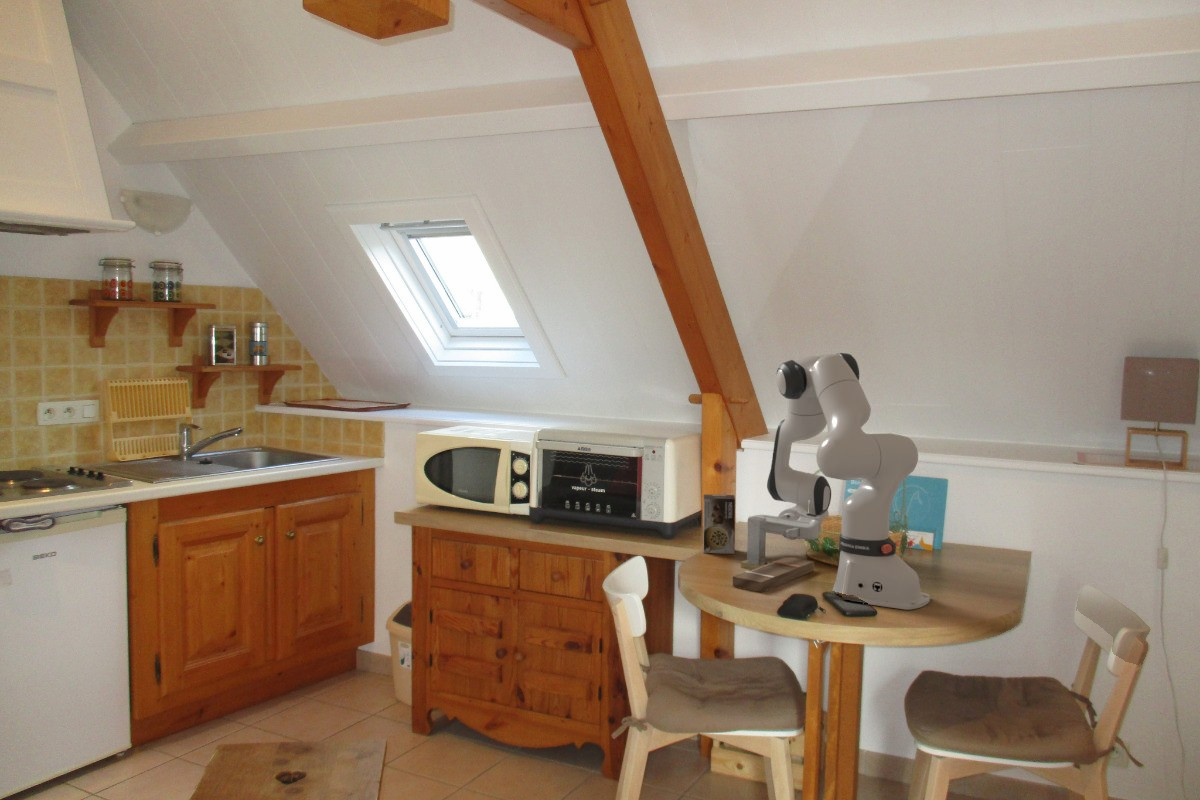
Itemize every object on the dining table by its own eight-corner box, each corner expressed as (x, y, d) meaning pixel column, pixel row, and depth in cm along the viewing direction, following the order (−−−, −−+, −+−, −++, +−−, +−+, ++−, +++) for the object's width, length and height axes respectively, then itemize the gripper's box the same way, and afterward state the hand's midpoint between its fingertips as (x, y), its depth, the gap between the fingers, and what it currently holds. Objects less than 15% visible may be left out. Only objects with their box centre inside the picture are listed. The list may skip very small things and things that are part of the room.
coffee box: (733, 549, 272) (735, 494, 271) (734, 554, 266) (736, 498, 264) (702, 548, 273) (703, 493, 272) (702, 553, 266) (703, 497, 265)
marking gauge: (771, 569, 249) (772, 519, 248) (763, 571, 246) (765, 521, 245) (748, 564, 254) (749, 515, 253) (740, 567, 251) (741, 517, 250)
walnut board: (813, 570, 248) (813, 561, 248) (761, 592, 226) (761, 581, 226) (786, 565, 253) (786, 556, 253) (732, 586, 232) (732, 575, 231)
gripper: (761, 507, 273) (736, 514, 262) (826, 517, 260) (803, 525, 249) (760, 529, 273) (736, 536, 262) (825, 539, 260) (802, 548, 249)
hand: (769, 531), depth 256 cm, fingers open, 8 cm apart
